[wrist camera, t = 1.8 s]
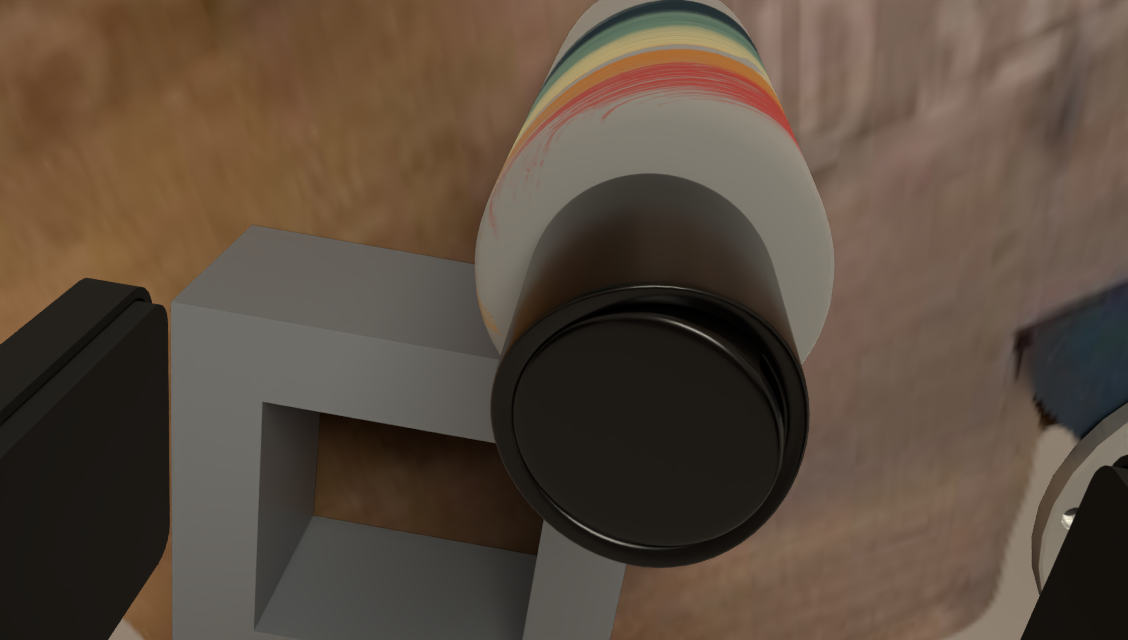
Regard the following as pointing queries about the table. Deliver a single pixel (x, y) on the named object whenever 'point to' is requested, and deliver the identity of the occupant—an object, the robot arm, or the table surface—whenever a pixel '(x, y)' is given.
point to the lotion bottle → (654, 287)
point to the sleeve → (290, 443)
